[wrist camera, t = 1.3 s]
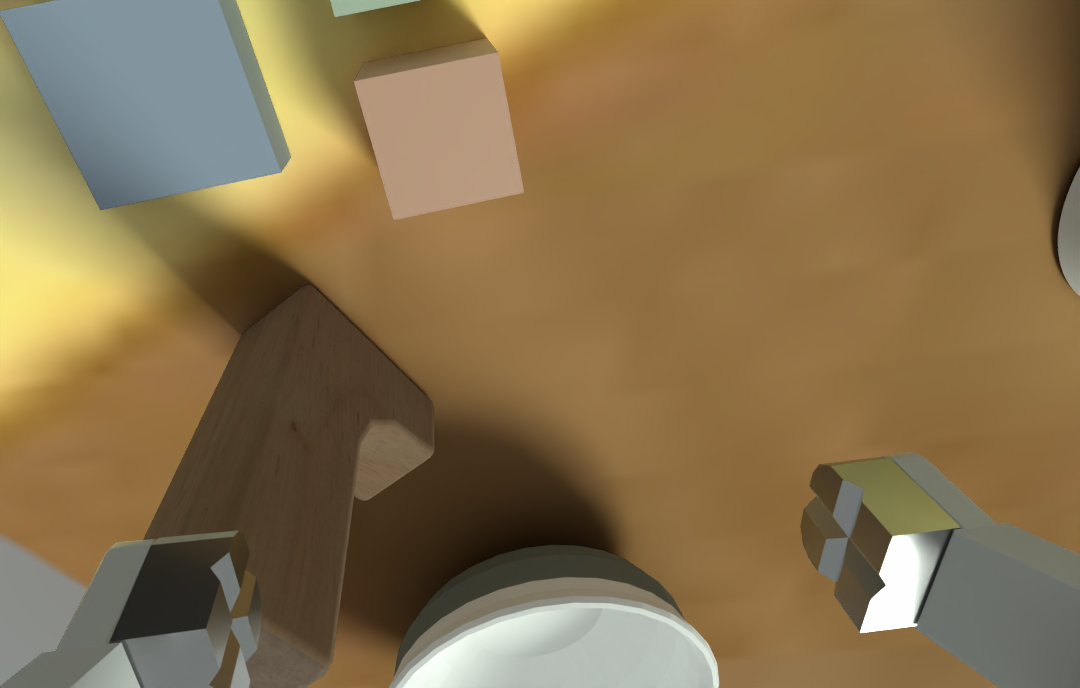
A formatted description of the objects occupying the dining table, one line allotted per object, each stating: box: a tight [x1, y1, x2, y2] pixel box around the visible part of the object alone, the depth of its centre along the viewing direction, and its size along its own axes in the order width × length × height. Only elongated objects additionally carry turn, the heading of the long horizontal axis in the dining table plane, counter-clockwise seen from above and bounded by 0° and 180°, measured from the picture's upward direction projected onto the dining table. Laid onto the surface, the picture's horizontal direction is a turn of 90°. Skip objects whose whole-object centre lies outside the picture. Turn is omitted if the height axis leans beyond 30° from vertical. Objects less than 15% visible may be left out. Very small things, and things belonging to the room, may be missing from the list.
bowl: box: [389, 545, 719, 688], centre depth 41 cm, size 19×19×8 cm
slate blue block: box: [0, 0, 291, 210], centre depth 26 cm, size 7×7×2 cm
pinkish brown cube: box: [354, 38, 524, 220], centre depth 27 cm, size 5×5×5 cm
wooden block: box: [143, 285, 434, 688], centre depth 26 cm, size 9×4×18 cm, turn 35°
